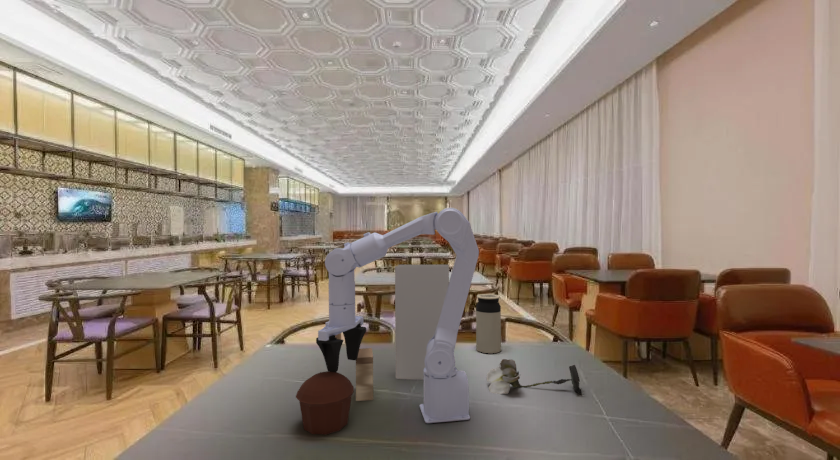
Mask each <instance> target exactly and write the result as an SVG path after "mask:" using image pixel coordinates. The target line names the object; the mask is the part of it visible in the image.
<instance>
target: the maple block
mask: <svg viewBox="0 0 840 460" xmlns="http://www.w3.org/2000/svg"><path fill="white" fill-rule="evenodd" d="M360 401H374V353H373V348H372V347H368V348H367V347H366V348H359V353H358V357H357V360H355V402H360Z"/></svg>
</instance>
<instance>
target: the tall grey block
mask: <svg viewBox="0 0 840 460" xmlns="http://www.w3.org/2000/svg"><path fill="white" fill-rule="evenodd" d="M449 281H450V264H397V266H396V265H395V266H394V291H395V293H394V297H395V298H394V303H395V304H394V307H395V310H394V311H395V313H394V317H395V322H394V323H395V325H394V326H395V328H394V330H395V331H394V333H395V334H394V335H395V336H394V337H395V340H394V341H395V342H394V343H395V345H394V347H395V379H396V380H414V381H415V380H418V381H419V380H421V381H424V368H425V363H424V361H425V356H426V348H427V344H428V342H429V340H430V339H431V338H432V337H433V336H434V334H435V330H436V327H437V324H438V321H439V317H440V314H441V310H442V306H443V303H444V299H445V295H446V292H447V288H448V284H449Z"/></svg>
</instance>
